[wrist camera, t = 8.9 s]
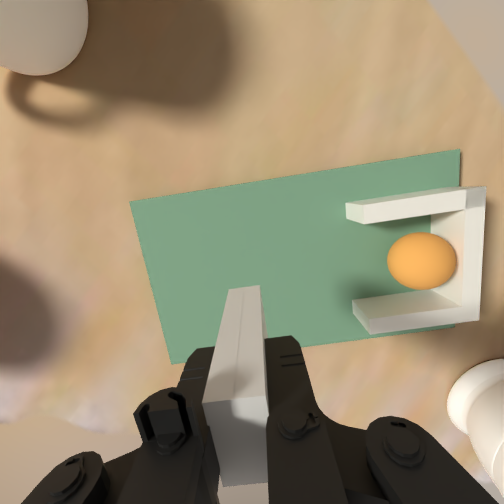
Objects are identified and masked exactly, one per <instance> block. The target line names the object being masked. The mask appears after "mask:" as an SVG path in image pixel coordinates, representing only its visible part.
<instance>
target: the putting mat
mask: <svg viewBox="0 0 504 504" xmlns="http://www.w3.org/2000/svg"><path fill="white" fill-rule="evenodd" d="M459 169H460V149H456V150H450V151H443V152H437V153H431V154H425V155H418V156H412V157H406V158H400V159H393V160H387V161H381V162H375V163H368V164H362V165H356V166H350V167H343V168H337V169H331V170H325V171H318V172H312V173H306V174H300V175H293V176H287V177H281V178H275V179H268V180H262V181H256V182H250V183H243V184H237V185H231V186H225V187H218V188H212V189H206V190H200V191H193V192H187V193H181V194H175V195H169V196H162V197H156V198H150V199H144V200H137V201H131V202H129V203H130V207H131V210H132V214H133V218H134V222H135V226H136V230H137V234H138V237H139V241H140V245H141V249H142V253H143V257H144V261H145V264H146V268H147V272H148V276H149V280H150V284H151V287H152V291H153V295H154V299H155V303H156V307H157V311H158V314H159V318H160V322H161V326H162V330H163V334H164V338H165V341H166V345H167V349H168V353H169V357H170V361H171V364H178V363H186V362H187V359H188V358H189V356H190V355H191V354H192V353H193V352H194V351H195V350H196V349H197V348H204V347H212V346H215V345H216V341H217V337H218V333H219V329H220V324H221V320H222V316H223V312H224V308H225V303H226V299H227V295H228V291H229V289H235V288H242V287H249V286H256V285H260V290H261V296H262V302H263V309H264V315H265V321H266V328H267V334H268V338H274V337H281V336H289V335H292V336H293V337H294V338H295V339H296V340H297V341H298V342H299V343H300V347H308V346H316V345H323V344H331V343H338V342H346V341H354V340H361V339H369V338H377V337H384V336H392V335H400V334H407V333H415V332H422V331H430V330H438V329H445V328H453V327H455V324H447V325H440V326H432V327H424V328H417V329H409V330H402V331H394V332H386V333H379V334H371V335H370V334H369V333H368V331H367V330H366V329H365V328H364V326H363V325H362V324H361V323H360V321H359V320H358V319H357V318H356V316H355V315H354V314H353V306H352V300H355V299H362V298H369V297H376V296H384V295H391V294H398V293H405V292H413V291H420V290H417V289H412V288H408V287H406V286H404V285H402V284H400V283H399V282H398V281H397V280H396V279H395V278H394V277H393V276H392V275H391V273H390V271H389V269H388V265H387V256H388V252H389V250H390V248H391V246H392V245H393V244H394V243H395V242H396V241H397V240H398V239H399V238H401V237H403V236H405V235H407V234H410V233H416V232H426V233H431V214H429V215H423V216H416V217H409V218H403V219H396V220H389V221H383V222H376V223H369V224H362V223H358V222H355V221H352V220H349V219H346V205H345V203H347V202H353V201H360V200H366V199H373V198H379V197H386V196H392V195H399V194H405V193H412V192H418V191H425V190H431V189H438V188H444V187H459Z"/></svg>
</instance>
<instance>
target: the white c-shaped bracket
mask: <svg viewBox="0 0 504 504" xmlns="http://www.w3.org/2000/svg"><path fill="white" fill-rule="evenodd" d="M485 203H486V186H471V187H444V188H438V189H431V190H425V191H418V192H412V193H405V194H399V195H392V196H386V197H379V198H373V199H366V200H360V201H353V202H347V203H345V205H346V219H349V220H352V221H355V222H358V223H362V224H369V223H376V222H383V221H389V220H396V219H403V218H409V217H416V216H423V215H429V214H431V234H435V235H437V236H439V237H441V238H443V239H444V240H445V241H447V242H448V244H449V245H450V246H451V247H452V249H453V251H454V253H455V256H456V267H455V270H454V272H453V274H452V276H451V277H450V278H449V279H448V280H447V281H446V282H445V283H444V284H442V285H440V286H438V287H436V288H433V289H428V290H420V291H413V292H405V293H398V294H391V295H384V296H376V297H369V298H362V299H355V300H352V306H353V314H354V315H355V316H356V318H357V319H358V320H359V321H360V323H361V324H362V325H363V326H364V328H365V329H366V330H367V331H368V333H369V334H370V335H371V334H379V333H386V332H394V331H402V330H409V329H417V328H424V327H432V326H440V325H447V324H455V323H462V322H470V321H478V320H479V313H480V295H481V276H482V258H483V240H484V221H485Z"/></svg>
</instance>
